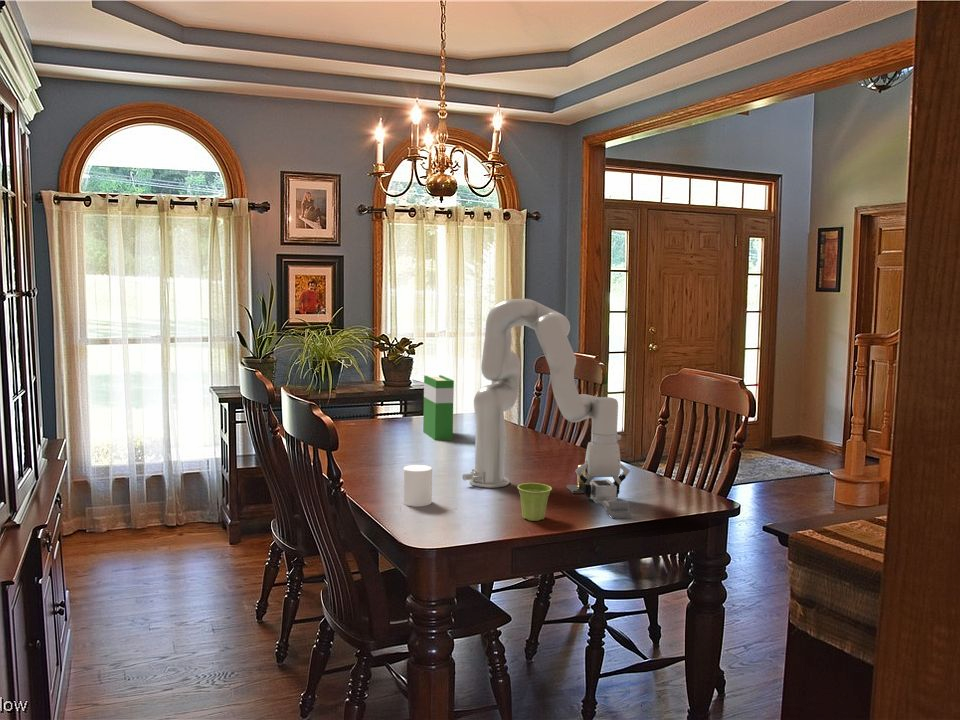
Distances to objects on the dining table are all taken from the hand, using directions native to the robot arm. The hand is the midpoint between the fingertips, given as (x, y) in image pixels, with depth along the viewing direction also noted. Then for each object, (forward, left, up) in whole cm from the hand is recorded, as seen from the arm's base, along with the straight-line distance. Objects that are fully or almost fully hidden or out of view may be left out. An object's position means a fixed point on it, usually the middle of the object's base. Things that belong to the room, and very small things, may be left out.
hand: (601, 496), depth 245 cm
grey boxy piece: (-9, -14, -1) cm, 17 cm away
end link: (0, 0, -1) cm, 1 cm away
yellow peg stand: (+2, +11, -1) cm, 11 cm away
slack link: (-5, -8, -1) cm, 10 cm away
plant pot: (-30, -2, -1) cm, 30 cm away
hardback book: (+16, +106, -1) cm, 107 cm away
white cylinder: (-47, +30, -1) cm, 56 cm away
